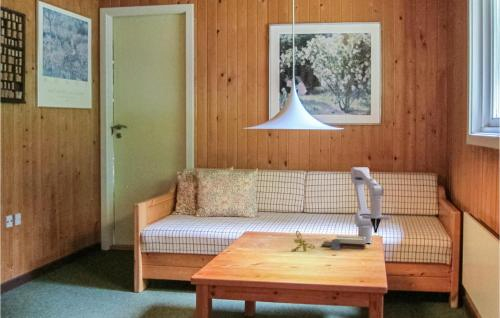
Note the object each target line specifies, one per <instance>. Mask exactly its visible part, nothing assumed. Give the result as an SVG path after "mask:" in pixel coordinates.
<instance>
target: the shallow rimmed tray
mask: <svg viewBox="0 0 500 318" xmlns="http://www.w3.org/2000/svg"><path fill="white" fill-rule="evenodd" d="M334 239H337V240H340V244H341V243H352V244H359V246H361V245H362V244H365V241H366V237H358V236H356V235H354V236H352V235H349V236H348V235H336V237H335V238H334Z"/></svg>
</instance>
